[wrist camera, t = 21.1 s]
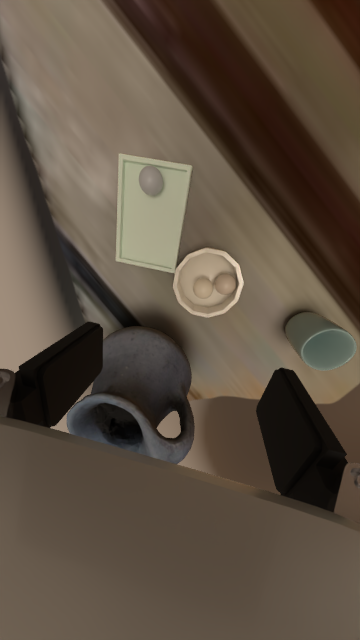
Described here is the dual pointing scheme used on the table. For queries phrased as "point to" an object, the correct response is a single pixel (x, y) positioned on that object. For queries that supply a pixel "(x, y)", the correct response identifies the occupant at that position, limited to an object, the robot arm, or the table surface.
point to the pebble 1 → (150, 180)
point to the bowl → (209, 267)
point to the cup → (319, 341)
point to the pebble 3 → (225, 284)
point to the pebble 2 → (203, 288)
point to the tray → (151, 214)
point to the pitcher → (138, 395)
